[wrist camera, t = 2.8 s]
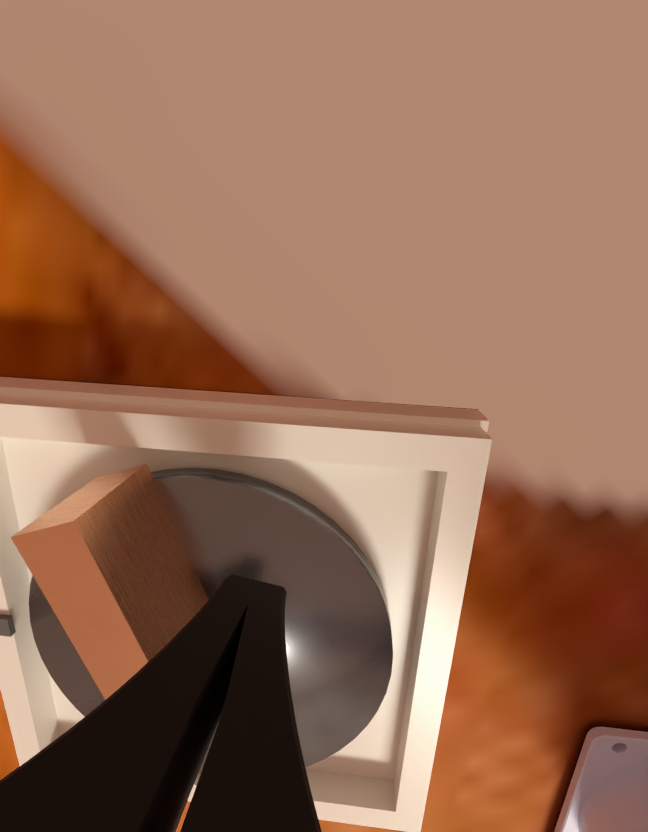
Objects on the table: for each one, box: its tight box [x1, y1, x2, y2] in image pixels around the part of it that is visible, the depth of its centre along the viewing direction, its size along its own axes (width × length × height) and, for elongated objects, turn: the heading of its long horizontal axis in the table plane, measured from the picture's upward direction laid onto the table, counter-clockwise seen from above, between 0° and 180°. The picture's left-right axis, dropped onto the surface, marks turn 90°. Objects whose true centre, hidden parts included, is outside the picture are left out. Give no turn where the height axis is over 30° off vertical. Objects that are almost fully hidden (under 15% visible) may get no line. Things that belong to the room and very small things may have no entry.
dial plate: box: [0, 377, 492, 832], centre depth 14 cm, size 16×16×2 cm
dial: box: [11, 463, 393, 774], centre depth 12 cm, size 12×12×4 cm
